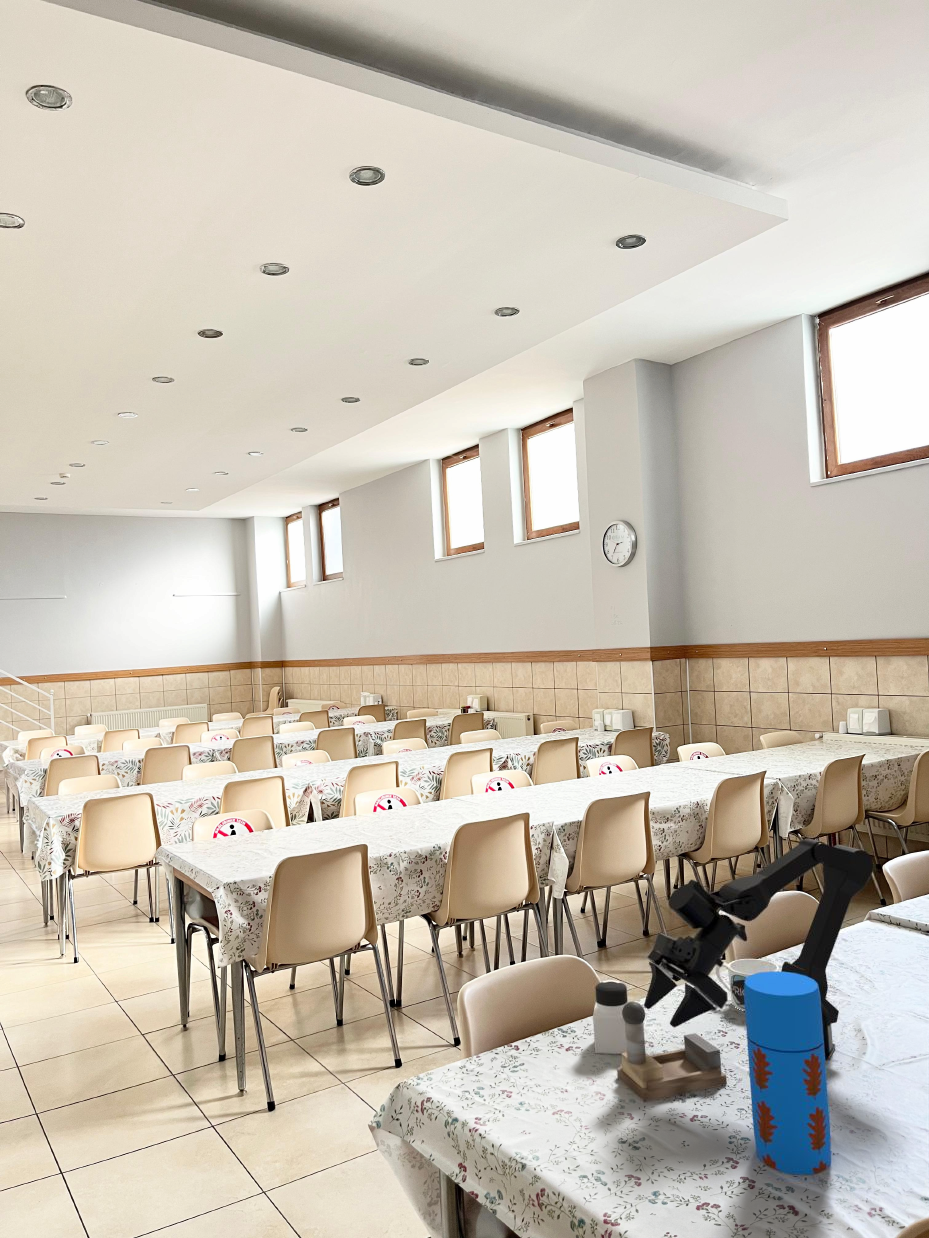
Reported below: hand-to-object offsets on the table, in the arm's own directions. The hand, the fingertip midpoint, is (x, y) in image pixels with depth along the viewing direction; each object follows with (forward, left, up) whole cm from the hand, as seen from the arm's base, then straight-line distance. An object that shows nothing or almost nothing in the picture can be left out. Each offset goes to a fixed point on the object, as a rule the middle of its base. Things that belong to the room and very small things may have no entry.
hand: (658, 1016), depth 160 cm
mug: (-3, -42, -12) cm, 44 cm away
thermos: (-25, +14, -12) cm, 31 cm away
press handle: (+3, +3, -10) cm, 11 cm away
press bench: (0, 0, -11) cm, 11 cm away
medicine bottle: (+14, -10, -12) cm, 21 cm away
